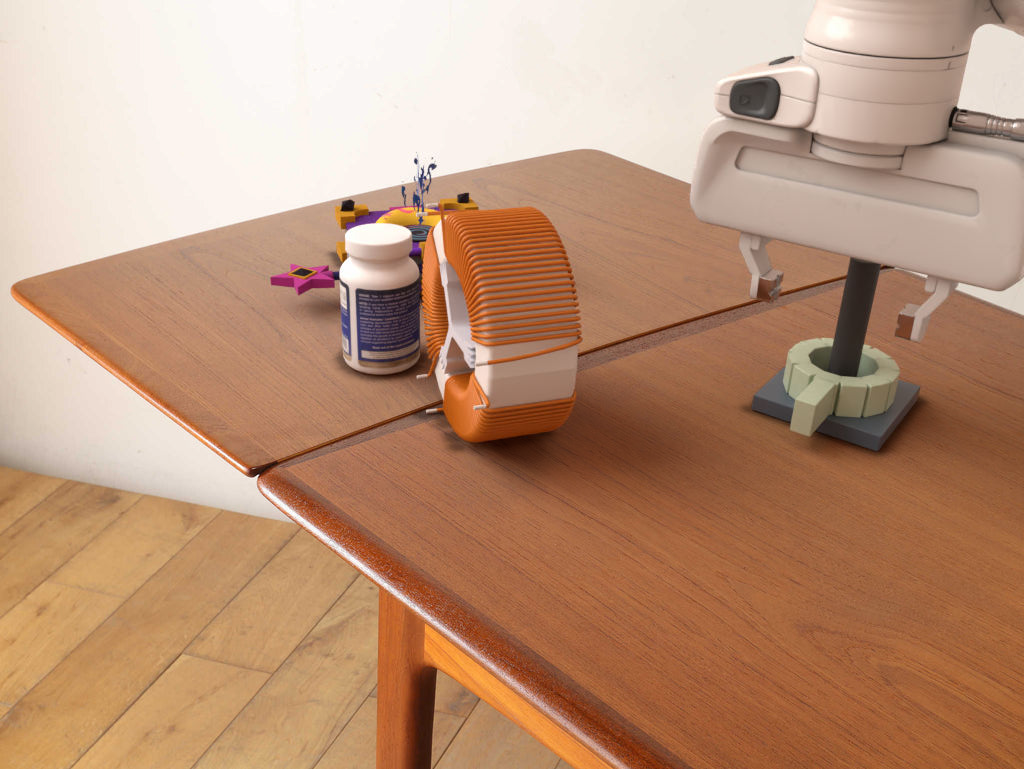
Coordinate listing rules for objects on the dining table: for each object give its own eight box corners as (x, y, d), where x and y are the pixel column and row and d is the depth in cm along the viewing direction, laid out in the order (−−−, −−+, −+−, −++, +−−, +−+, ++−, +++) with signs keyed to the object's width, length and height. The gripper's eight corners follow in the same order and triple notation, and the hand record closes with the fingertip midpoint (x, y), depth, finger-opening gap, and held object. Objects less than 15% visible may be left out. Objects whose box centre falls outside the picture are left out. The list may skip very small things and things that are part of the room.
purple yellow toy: (571, 294, 91) (581, 154, 85) (276, 322, 83) (265, 171, 78) (517, 236, 103) (523, 110, 97) (256, 256, 95) (245, 121, 90)
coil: (500, 370, 78) (507, 174, 70) (578, 478, 65) (597, 253, 58) (409, 382, 75) (407, 180, 68) (472, 496, 63) (478, 265, 56)
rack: (917, 400, 76) (954, 255, 71) (877, 452, 69) (914, 296, 64) (798, 364, 80) (825, 224, 75) (750, 409, 74) (776, 260, 68)
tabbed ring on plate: (905, 387, 75) (912, 357, 74) (854, 452, 67) (862, 419, 66) (805, 357, 79) (811, 328, 78) (746, 416, 70) (751, 384, 69)
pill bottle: (435, 355, 79) (435, 230, 75) (388, 385, 75) (385, 253, 70) (375, 336, 82) (372, 213, 77) (326, 363, 78) (320, 235, 73)
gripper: (1084, 114, 57) (1020, 344, 63) (735, 62, 67) (711, 265, 74) (1061, 139, 52) (994, 383, 59) (690, 79, 62) (669, 293, 69)
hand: (834, 317), depth 66 cm, fingers open, 8 cm apart
